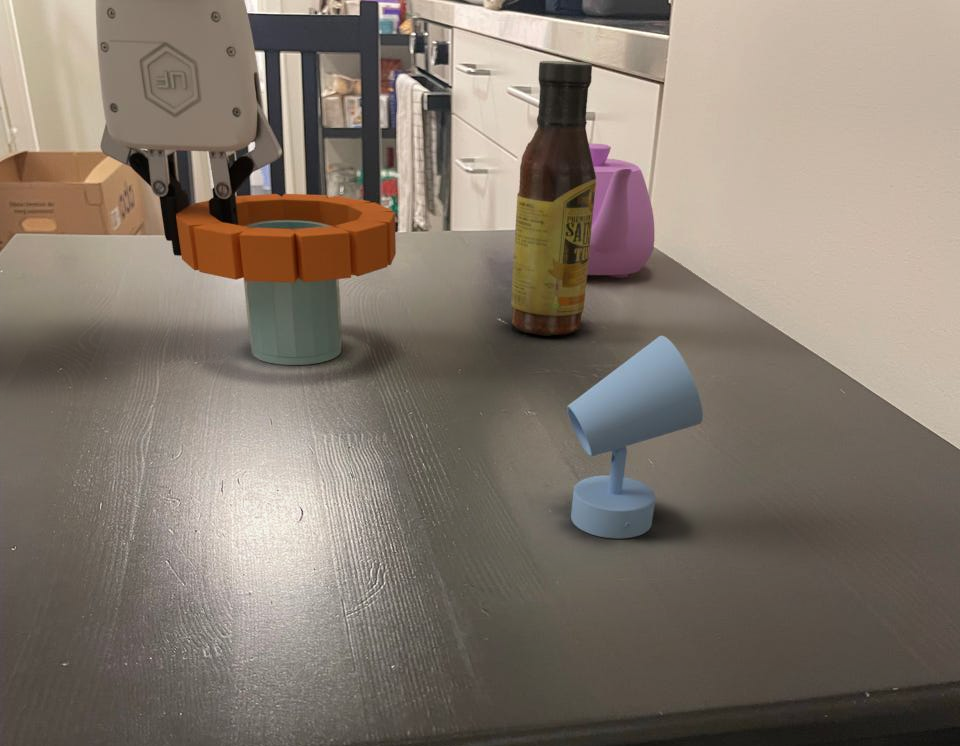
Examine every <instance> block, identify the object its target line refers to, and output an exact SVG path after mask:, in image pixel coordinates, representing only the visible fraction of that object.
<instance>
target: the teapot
mask: <svg viewBox="0 0 960 746" xmlns="http://www.w3.org/2000/svg"><path fill="white" fill-rule="evenodd" d="M611 147H612V146H610V145H608V144H604V143H589V148H590V152H591V157H592V161H593V166H594V170H595V175H596V187H595V197H594V207H593V218H592V229H591V239H590V250H589V260H588V270H587V276H608V277H612V278H619V279H621V278H627V277H629V275H630V274H635V273H638V272H640V271H641V270H642V269H643V267H644V266H645V265H646V264H647V262H649V259H650V258H651V256H652V254H653V252H654V247H655V218H654V211H653V206H652V202H651V198H650V195H649V191H648V188H647V184H646V180H645V177H644V175H643V172H642V170H641V168H640V167H639V166H638V165H636V164H634V163H632V162H629V161H626V160H621V159H616V158H608V157H609V154H610V152H611Z"/></svg>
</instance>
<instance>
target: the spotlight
mask: <svg viewBox="0 0 960 746" xmlns="http://www.w3.org/2000/svg"><path fill="white" fill-rule="evenodd" d="M566 412H567V416H568V418H569V421H570V424H571V426H572V428H573V431H574V433H575V435H576V438H577V439H578V441H579V443H580V445H581V446H582V448H583V449H584V452H586V454H587V455H588V457H596V456H598V455H601V454H605V453H608V452H611V459H610V467H609V475H594V476H590V477H587V478H584V479H581V480H580V481H578V482H577V483H576V484H575V485H574V487H573V491H572V492H573V493H572V501H571V512H570V519H571V522H572V524H573V525H574V526H575V527H576V528H578V529H579V530H580V531H583V532H585V533H587V534H590V535H593V536H597V537H599V538H600V537H602V538H607V539H630V538H636V537H639V536H641V535H644V534H646V533H647V532H648V531H649V530H650V529H652V525H653V518H654V511H655V505H656V497H657V496H656V493H655V491H654V490H653V488H651V487H650V486H649V485H647V484H646V483H644V482H643V481H639V480H638V479H634V478H630V477H626V476H625V471H626V470H625V469H626V461H627V455H628V450H627V449H628V448H627V447H628V446H631V445H635V444H638V443H641V442H645V441H648V440H651V439H654V438H658V437H662V436H665V435H668V434H672V433H674V432H679V431H681V430H684V429H689V428H692V427H695V426H698V425H700V424H702V422H703V419H704V418H703V417H704V414H703V405H702V401H701V397H700V394H699V390H698V388H697V385H696V382H695V379H694V378H693V374H692V373H691V371H690V369H689V367H688V365H687V363H686V361H685V359H684V358H683V356H682V354H681V353H680V351H679V350H678V349H677V347H676V346H675V344H674V343H673V342H672V341H671V340H670V339H669V338H667V337H666V336H664V335H659V336H658V337H656V338H655V339H653V340H652V341H650V343H648V344H647V345H646V346H645V347H643V348H642V349H640V350H639V351H638V352H636V353H635V354H634V355H633V356H631V357H630V358H629V359H627V360H626V361H625V362H624V363H622V364H620V365H619V366H618V367H617V368H616V369H614V370H612V372H610V373H609V374H608V375H606V376H605V377H603V379H601V380H600V381H598V382H597V383H596V384H595V385H593V386H592V387H591V388H589V389H588V390H587V391H585V392H584V393H583V394H582V395H580V396H579V397H577V398H576V399H575V400H572V402H571V403H569V404H568V405H567V406H566Z"/></svg>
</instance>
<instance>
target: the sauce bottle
mask: <svg viewBox="0 0 960 746" xmlns="http://www.w3.org/2000/svg"><path fill="white" fill-rule="evenodd" d="M592 73H593V64H592V63H589V62H581V61H563V60H541V61H539V63H538V85H539V100H538V114H537V117H536V124H537V128H536V130H535V132H534V134H533V136H532V138H531V140H530V141H529V142H528V143H527V145H526V147H525V150H524V151H523V154H522V156H521V161H520V165H519V187H518V192H517V196H516V212H515V213H516V214H515V228H514V229H515V231H514V248H513V249H514V250H513V265H512V278H511V279H512V280H511V299H510V300H511V301H510V304H511V307H512V310H511V313H512V314H511V323H512V325H513V327H514V328H515V329H516V330H518V331H519V332H523V333H526V334H530V335H538V336H543V337H550V336H562V335H569V334H572V333H575V332H576V331H577V332H578V330H579V329H580V326H581V323H582V322H581V321H582V315H583V313H584V309H585V301H586V288H587V281H588V280H587V279H588V275H587V270H588V260H589V250H590V239H591V229H592V218H593V207H594V197H595V187H596V175H595V170H594V166H593V161H592V157H591V152H590V148H589V144H590V143H589V139H588V135H587V128H586V127H587V124H588V123H587V108H588V107H587V106H588V96H589V87H590V86H591V83H592V75H593V74H592Z"/></svg>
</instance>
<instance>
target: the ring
mask: <svg viewBox="0 0 960 746" xmlns="http://www.w3.org/2000/svg"><path fill="white" fill-rule="evenodd" d="M235 197H236V206H237V216H238V225H235V224H229V223H223V222H221V221H219V220H218V219H216V218H215V217H213V216H212V215H210V211H209V200H206V201H200V202H194V204H189V206H188V207H186V208H185V209H183V210H182V211H180V212H179V213H177V214H176V220H177V227H178V234H179V241H180V249H181V256H180V257H181V260H182V261H183V262H184V263H185V264H186V265H188V266H189V267H190V268H191V269H192V270H194V271H199V273H202V274H207V275H213V276H217V277H222V278H226V279H230V280H235V281H237V280H241V279H243V282H244V281H261V282H288V283H295V282H296V280H297V279H298V278H299V279H300V280H301V281H303V282H314V281H324V280H334V279H339V280H343V279H351V278H352V276H354V277H355V276H356V277H360V276H364V275H367V274H370V273H373V272H376V271H379V270H382V269H385V268H388V267H389V266H391V265H392V263H393V261H394V259H395V256H396V253H397V247H396V246H397V245H396V212H394V210H392V209H390V208H387V207H386V206H383V205H381V204H379V203H377V202H371V201H370V200H365V199H357V198H352V197H345V196H339V195H333V196H329V195H327V194H303V193H283V195H282V196H281V195H280V194H277V193H266V194H251V195H249V194H248V195H235ZM276 220H299V221H311V222H318V223H323V224H327V225H330V226H327V227H313V228H300V229H280V228H252V227H246V226H245V225H249V224H252V223H256V222H264V221H276Z"/></svg>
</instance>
